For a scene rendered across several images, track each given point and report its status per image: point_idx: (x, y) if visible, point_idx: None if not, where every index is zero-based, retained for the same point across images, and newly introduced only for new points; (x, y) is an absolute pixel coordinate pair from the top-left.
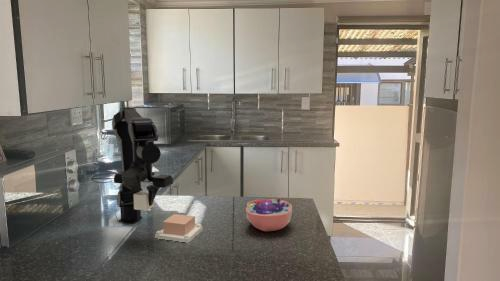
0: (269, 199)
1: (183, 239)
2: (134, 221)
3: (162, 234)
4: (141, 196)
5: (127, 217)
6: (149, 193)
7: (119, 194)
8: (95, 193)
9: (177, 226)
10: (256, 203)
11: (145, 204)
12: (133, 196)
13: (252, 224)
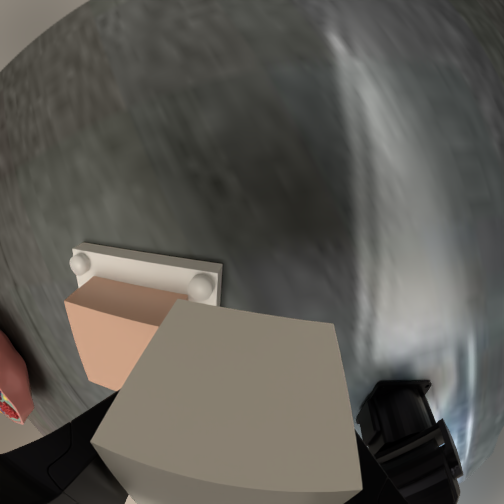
0: (14, 420)
1: (89, 249)
2: (375, 391)
3: (184, 280)
4: (186, 453)
5: (404, 398)
6: (60, 464)
7: (459, 463)
8: (475, 459)
9: (100, 301)
10: (9, 406)
11: (156, 343)
12: (371, 462)
13: (4, 343)
